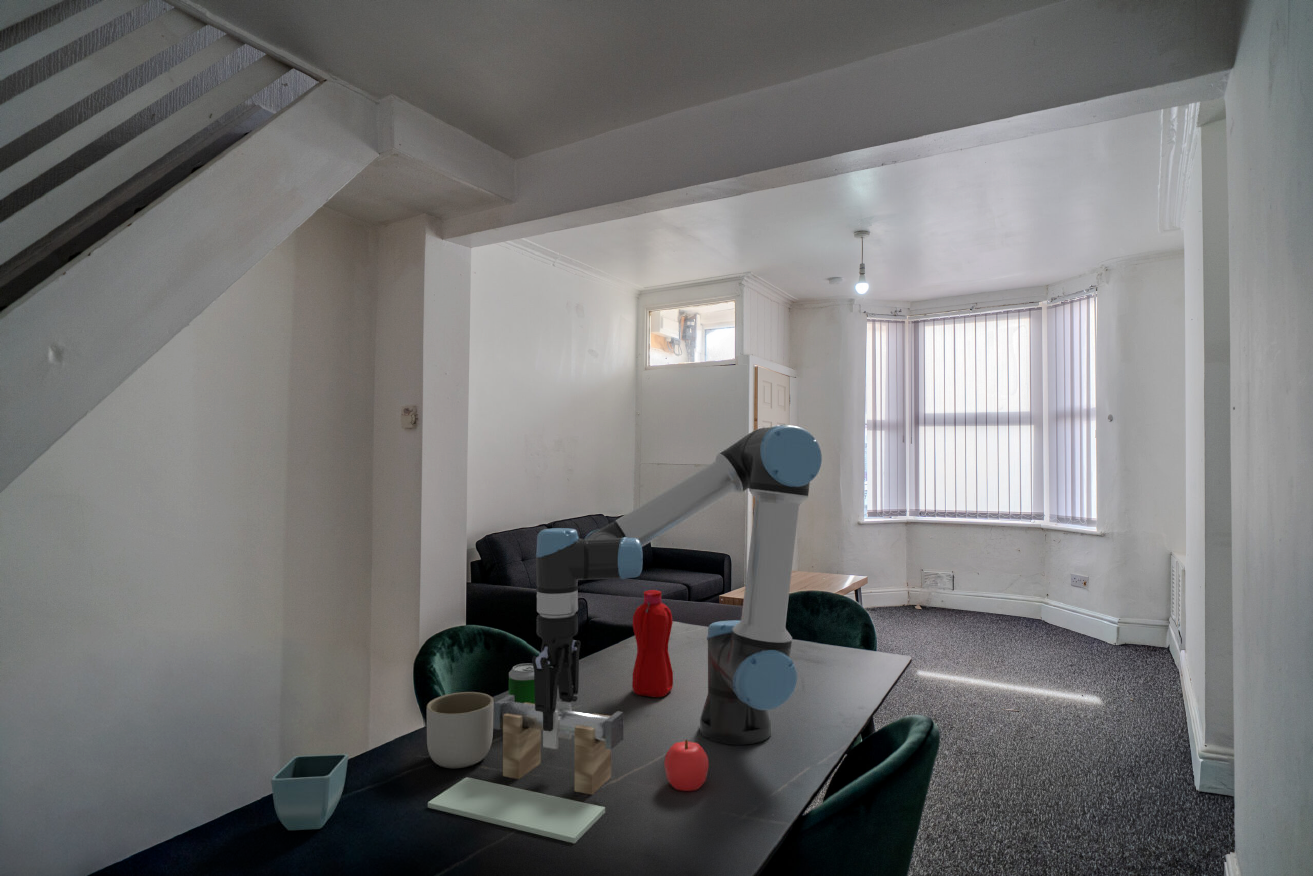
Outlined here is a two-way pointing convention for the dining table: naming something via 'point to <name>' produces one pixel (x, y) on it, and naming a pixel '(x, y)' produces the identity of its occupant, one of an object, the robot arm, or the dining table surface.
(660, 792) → the dining table surface
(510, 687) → the soda can
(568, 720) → the rail
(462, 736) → the planter
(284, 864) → the dining table surface
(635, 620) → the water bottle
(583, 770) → the post near
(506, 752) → the post far
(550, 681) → the robot arm
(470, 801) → the board
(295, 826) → the flower pot
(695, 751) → the apple
